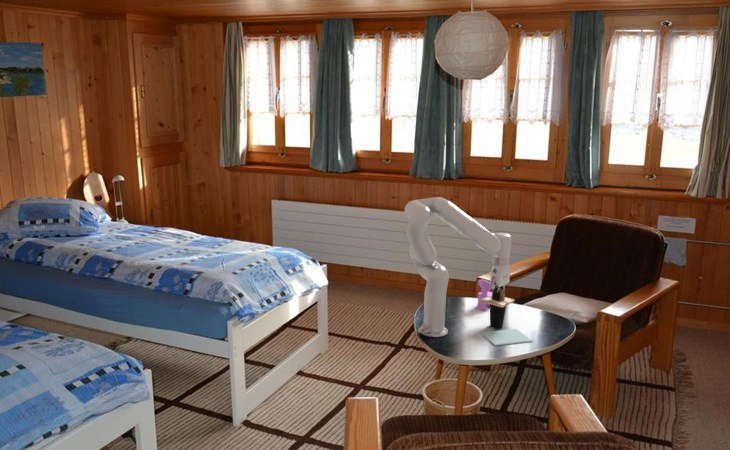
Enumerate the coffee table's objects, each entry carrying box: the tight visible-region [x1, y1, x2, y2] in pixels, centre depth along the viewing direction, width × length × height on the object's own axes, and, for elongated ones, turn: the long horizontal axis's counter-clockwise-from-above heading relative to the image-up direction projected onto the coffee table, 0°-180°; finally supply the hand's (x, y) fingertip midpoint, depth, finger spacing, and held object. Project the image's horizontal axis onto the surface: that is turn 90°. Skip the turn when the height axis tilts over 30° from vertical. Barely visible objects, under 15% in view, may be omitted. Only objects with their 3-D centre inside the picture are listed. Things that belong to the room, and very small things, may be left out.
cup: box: [489, 304, 507, 330], centre depth 300 cm, size 8×8×12 cm
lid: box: [481, 287, 516, 308], centre depth 298 cm, size 11×11×6 cm
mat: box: [480, 328, 533, 347], centre depth 288 cm, size 18×14×1 cm
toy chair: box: [475, 279, 492, 312], centre depth 325 cm, size 8×9×15 cm
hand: (498, 298), depth 299 cm, fingers closed on lid, 3 cm apart
